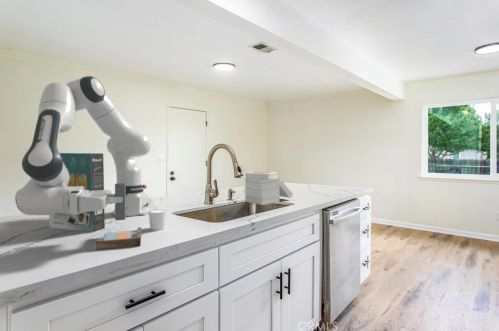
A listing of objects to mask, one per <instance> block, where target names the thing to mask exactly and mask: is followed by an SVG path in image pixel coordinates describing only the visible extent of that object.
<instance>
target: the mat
mask: <svg viewBox="0 0 499 331" xmlns="http://www.w3.org/2000/svg"><path fill="white" fill-rule="evenodd" d="M137 230H138V229H136V230H135V229H134V230H124V231H111V232H106V234H105V235H104V237H103V240H102V241H104V240H116V239H128V238H137ZM142 231H143V230H142V229H141V232H142ZM134 246H135V247H141V244H140V245H139V246H138V245H137V246H136V245H133V247H134ZM122 247H123V248H133V247H132V246H129V247H128V246H122ZM122 247H121V248H120V247H118V248H117V247H116V248H115V247H114V248H113V247H111V248H110V249H109V248H108V249H106V248H102V249H101V248H100V249H101V250H112V248H113V249H123V248H122ZM100 249H99V250H98V251H101V250H100Z"/></svg>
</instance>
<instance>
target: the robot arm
mask: <svg viewBox="0 0 499 331" xmlns="http://www.w3.org/2000/svg"><path fill="white" fill-rule="evenodd" d="M82 110H86V112H87V113H88V114H89V116H90V117H91V119H92V120H93V122H95V124H96V125H97V126H98V127H99V129H100V130H101V131H102V132H103V133H104V134H105V135H107V136H108V137H110V138H108V140H107V142H106V148H107V151H108V152H109V154H110V155H111V156H112V158H113V159H112V160H113V163H114V165H115V170H116V172H115V173H116V183H126V207H127V215H126V217H131V216H132V217H133V216H134V217H135V216H146V215H149V211H152V210H159V209H158V207H157V206H154V202H153V198H152V197H150V195H148V194H147V193H146V192H144V190H145V189H146V190H147V187H148V186H147V184H142V170H141V167H140V166H139V165H138V164H137V160H136V159H135V158H139V157H143V156H145V155H147V154H148V153H149V152H150V151H151V147H152V146H151V141H150V139H149V138H148V137H147V136H146V135H143V134H142V133H140V132H139V131H138V130H137V129H136V128H134V127H133V126H132V125H131V124H130V123H129V122H128V121H127V120H126V119H125V118H124V117H123V115H122V114H121V112H120V111H119V110H118V108H117V107H116V105H115V104H114V103H113V102H112V100H111V99H110V98H109V96H107V95H106V91H105V86H104V85H103V84H102V82H101V80H99V79H98V78H96V77H94V76H92V75H87V76H83V77H81V78H78V79H74V80H72V81H69V82H67V83H66V84H65V83H62V82H56V81H55V82H51V83H48V84H46V86H45V87H44V89H43V91H42V93H41V96H40V99H39V105H38V115H37V120H36V125H35V128H34V134H33V138H32V142H31V145H30V147H29V148H28V150H27V151H26V153H25V154H24V156H23V157H22V161H21V167H22V170H23V171H24V173H25V174H26V175H28V176H29V177H30V179H29V181H28V182H27V183H26V184H25V185H24V186H23V187H22V188H20V189H18V190H17V191H16V193H15V205H16V207H17V209H18V210H19V211H20V213H22V214H24V215H26V216H27V215H28V216H49V215H52V214H56V213H61V214H71V215H76V214H79V213H83V212H90V211H98V210H102V209H104V210H105V209H106V207H107V206H108V205H112V204H113V205H114V204H115V203H122V202H123V197H115V193H112V190H111V189H104V190H95V191H89V190H85V189H84V187H83V186H70V187H68V183H69V179H70V175H69V172H68V170H67V168H66V166H65V165H64V163H63V161H62V158H61V155H60V153H61V152H60V151H59V150H58V142H59V136H60V134H62V133H65V132H68V131H70V130H71V129H72V127H73V125H74V122H75V118H76V117H75V116H76V112H78V111H82ZM113 215H114V216H115V209H114V210H113Z"/></svg>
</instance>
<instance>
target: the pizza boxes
mask: <svg viewBox="0 0 499 331" xmlns="http://www.w3.org/2000/svg"><path fill="white" fill-rule="evenodd" d="M244 180H245V181H244V182H245V184H244V185H245V186H244V188H245V190H244V191H245V192H244V193H245V194H244V195H245V196H244V202H246V203H250V204H255V205H260V206H264V205H271V204H277V203H280V197H283V198H289V199H292V198H293V195H294V193H293V191H291V190H290V188H288V186H287V185H286V183H285V182H284V181H283V180H281V179H280V178H279V172H278V171H252V172H251V171H250V172H245V178H244Z"/></svg>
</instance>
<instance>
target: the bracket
mask: <svg viewBox="0 0 499 331" xmlns="http://www.w3.org/2000/svg"><path fill="white" fill-rule="evenodd" d="M114 194H115V197H123V202H122V203H114V210H115V215H114V221H125V220H126V218H127V216H126V215H127V207H126V183H117V182H116V183H114Z"/></svg>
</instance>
